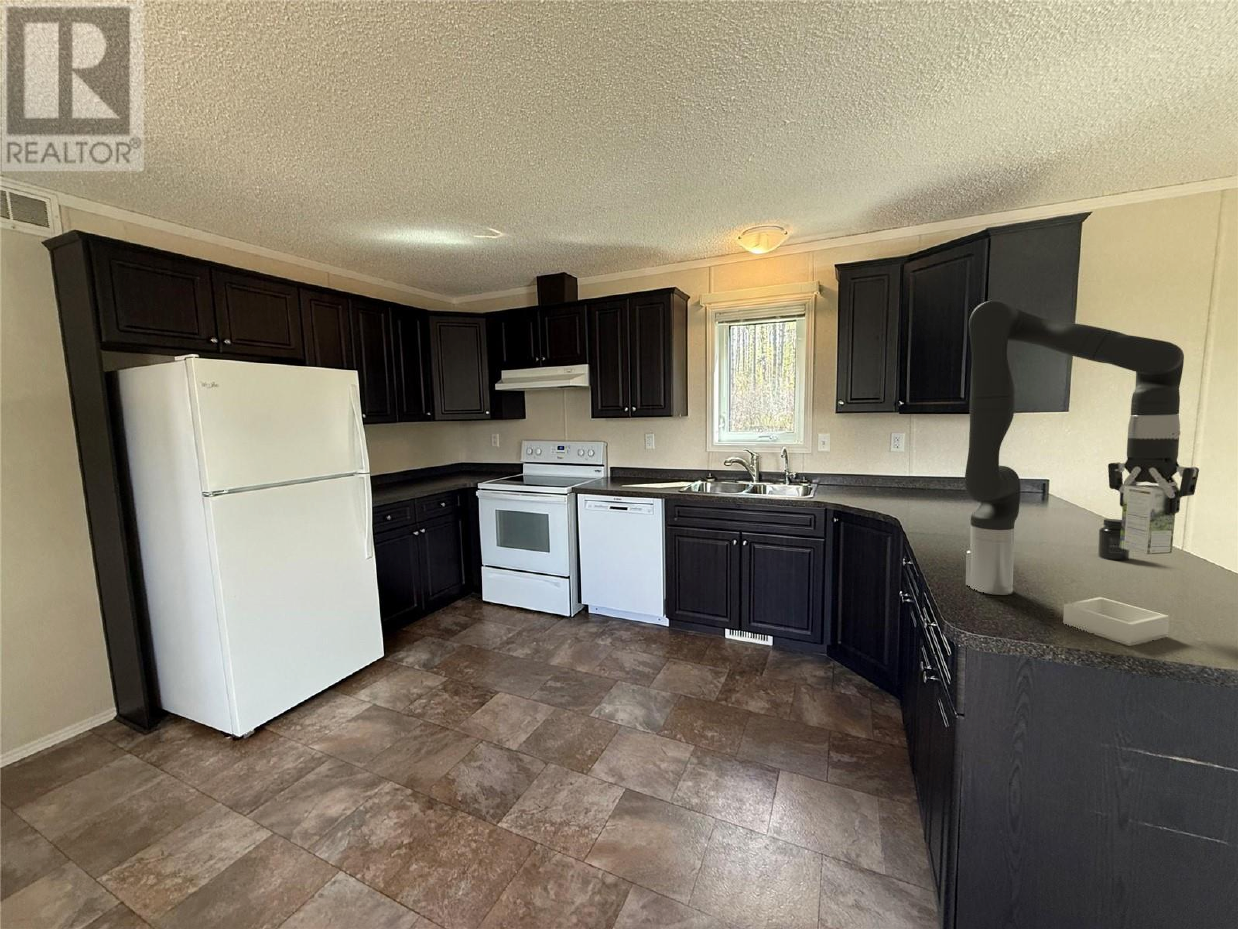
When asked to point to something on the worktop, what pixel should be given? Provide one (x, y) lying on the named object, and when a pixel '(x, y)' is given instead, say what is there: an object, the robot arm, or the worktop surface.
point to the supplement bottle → (1111, 541)
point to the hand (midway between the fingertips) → (1148, 511)
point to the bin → (1116, 621)
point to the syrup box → (1146, 520)
